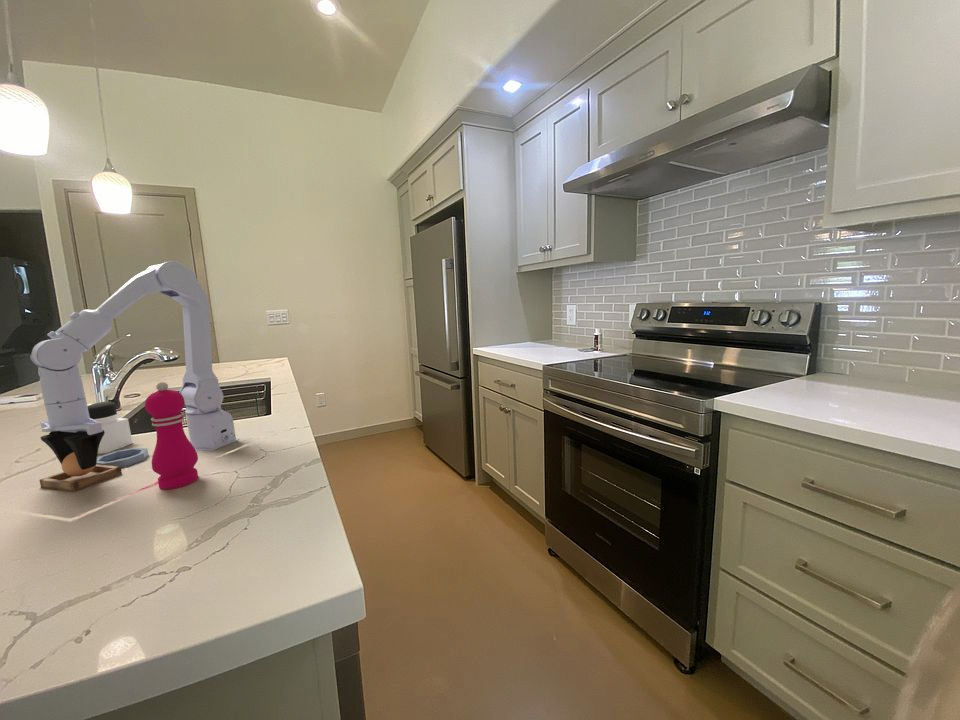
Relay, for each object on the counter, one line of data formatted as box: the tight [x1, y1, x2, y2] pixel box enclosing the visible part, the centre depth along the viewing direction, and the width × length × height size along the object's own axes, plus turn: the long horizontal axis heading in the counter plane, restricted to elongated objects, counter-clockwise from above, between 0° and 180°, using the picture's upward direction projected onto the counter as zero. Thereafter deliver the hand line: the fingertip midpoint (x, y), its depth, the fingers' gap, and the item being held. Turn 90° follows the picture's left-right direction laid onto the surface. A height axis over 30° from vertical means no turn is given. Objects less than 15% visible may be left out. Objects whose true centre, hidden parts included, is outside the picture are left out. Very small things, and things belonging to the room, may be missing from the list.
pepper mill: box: [144, 381, 199, 490], centre depth 79 cm, size 7×7×20 cm
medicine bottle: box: [87, 401, 133, 455], centre depth 101 cm, size 7×7×12 cm
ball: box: [61, 452, 95, 476], centre depth 82 cm, size 5×5×5 cm
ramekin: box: [96, 447, 149, 468], centre depth 92 cm, size 9×9×2 cm
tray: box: [39, 464, 123, 493], centre depth 83 cm, size 10×8×2 cm
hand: (79, 466), depth 82 cm, fingers closed on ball, 5 cm apart
